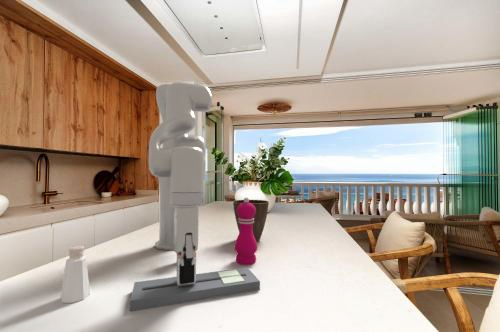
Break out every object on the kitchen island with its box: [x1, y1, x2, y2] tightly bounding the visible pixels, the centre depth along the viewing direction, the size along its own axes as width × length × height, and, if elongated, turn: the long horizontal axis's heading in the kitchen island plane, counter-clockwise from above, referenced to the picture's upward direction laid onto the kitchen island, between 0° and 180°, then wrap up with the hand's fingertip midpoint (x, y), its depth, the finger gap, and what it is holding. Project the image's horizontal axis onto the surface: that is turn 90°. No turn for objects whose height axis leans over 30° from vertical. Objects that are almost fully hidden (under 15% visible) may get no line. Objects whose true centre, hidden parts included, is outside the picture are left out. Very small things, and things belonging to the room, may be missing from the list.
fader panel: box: [129, 267, 261, 312], centre depth 58 cm, size 9×28×2 cm, turn 110°
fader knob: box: [175, 249, 197, 286], centre depth 58 cm, size 4×4×7 cm
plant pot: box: [232, 199, 270, 243], centre depth 103 cm, size 15×15×16 cm
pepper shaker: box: [59, 245, 91, 304], centre depth 55 cm, size 5×5×11 cm
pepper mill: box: [234, 197, 258, 266], centre depth 78 cm, size 7×7×20 cm
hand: (185, 277), depth 58 cm, fingers closed on fader knob, 4 cm apart
